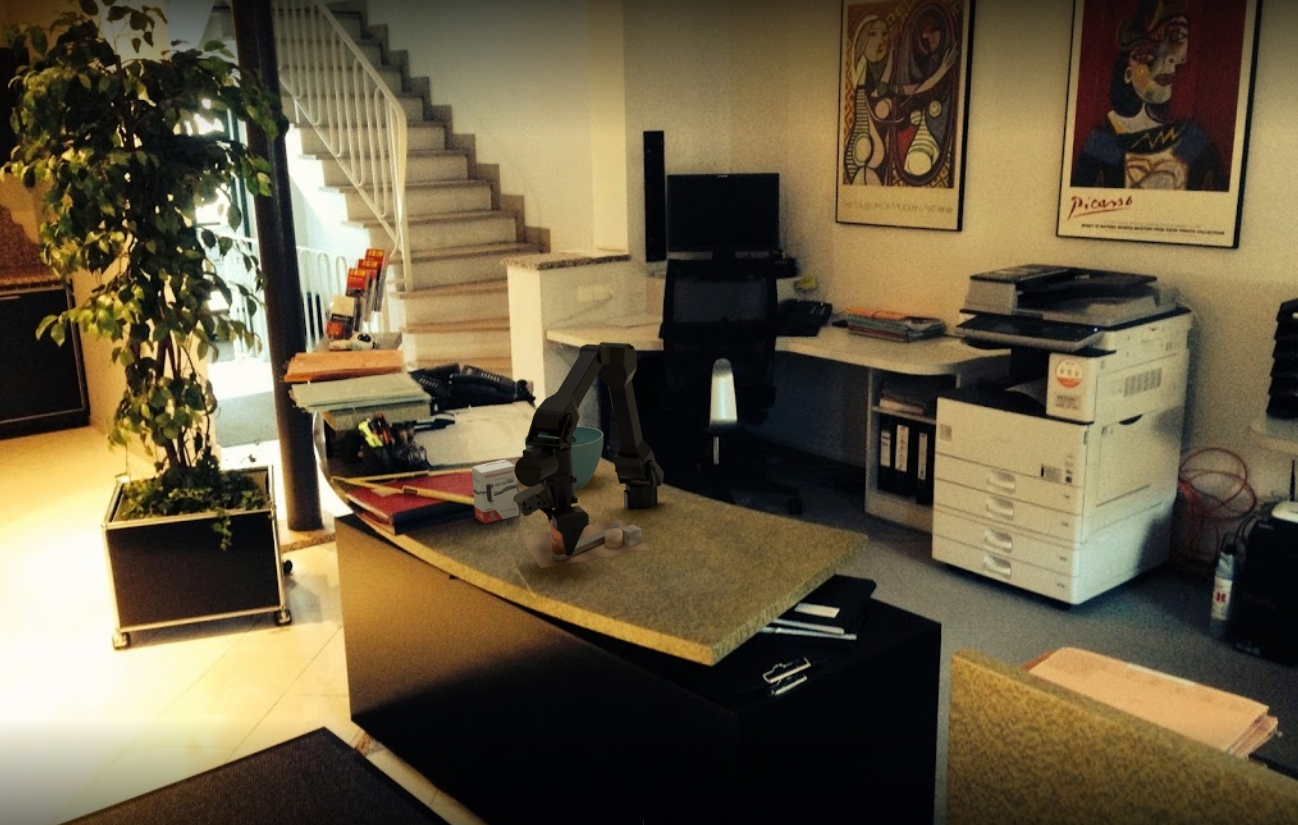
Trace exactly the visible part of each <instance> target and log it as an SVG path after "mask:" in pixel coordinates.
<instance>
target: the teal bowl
mask: <svg viewBox="0 0 1298 825" xmlns="http://www.w3.org/2000/svg"><path fill="white" fill-rule="evenodd" d="M527 436H528V434H527V435H526V436H525V438H524V444H525V443H526V439H527ZM572 436H574V437H575V438H576V439H577V441H576V442H575V443H573V444H572V459H573V474H574V475H575V476H576V479H577V482H576V483H574V491H579V490H581V489H583V488H584V487H585V486H586V485H587V484H588V483H589V481H590V480H591V479H592V477H593V476H594V473H595V472H596V470H597V468H598V465H599V462H600V460H601V458H602V453H603V446H604V433H603V432H602V431H601V430H600V429H597V428H593V427H589V426H582V425H580V426H579V425H577V426H576V429H575V431H574V433H573V435H572ZM538 437H546V438H555V437H553V436H543V435H540V434H539V435H538ZM531 447H532V446H528V445H526V444H525V449H527V448H531Z"/></svg>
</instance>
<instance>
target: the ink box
mask: <svg viewBox="0 0 1298 825" xmlns="http://www.w3.org/2000/svg"><path fill="white" fill-rule="evenodd" d="M515 465H516V464H514V463H512V462H511V461H509V460H507V459H501V460H497V461H496V460H495V461H492V462H488V463H484V464H478V465H474V466H473V467H472V468H471V475H472V476H471V478H472V490H473V504H474V506H473V507H474V516H475V519H477V520H478V521H480V522H481V523H483V524H489V523H493V522H497V521H501V520H505V519H510V518H514V517H517V516H520V509H519V507H518V505H517V503H516V501H515V499H514V496H515V495H516V494H517V493H519V492H518V483H517V482H518V479H517V478H516V475H515V471H514V468H515Z"/></svg>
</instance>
